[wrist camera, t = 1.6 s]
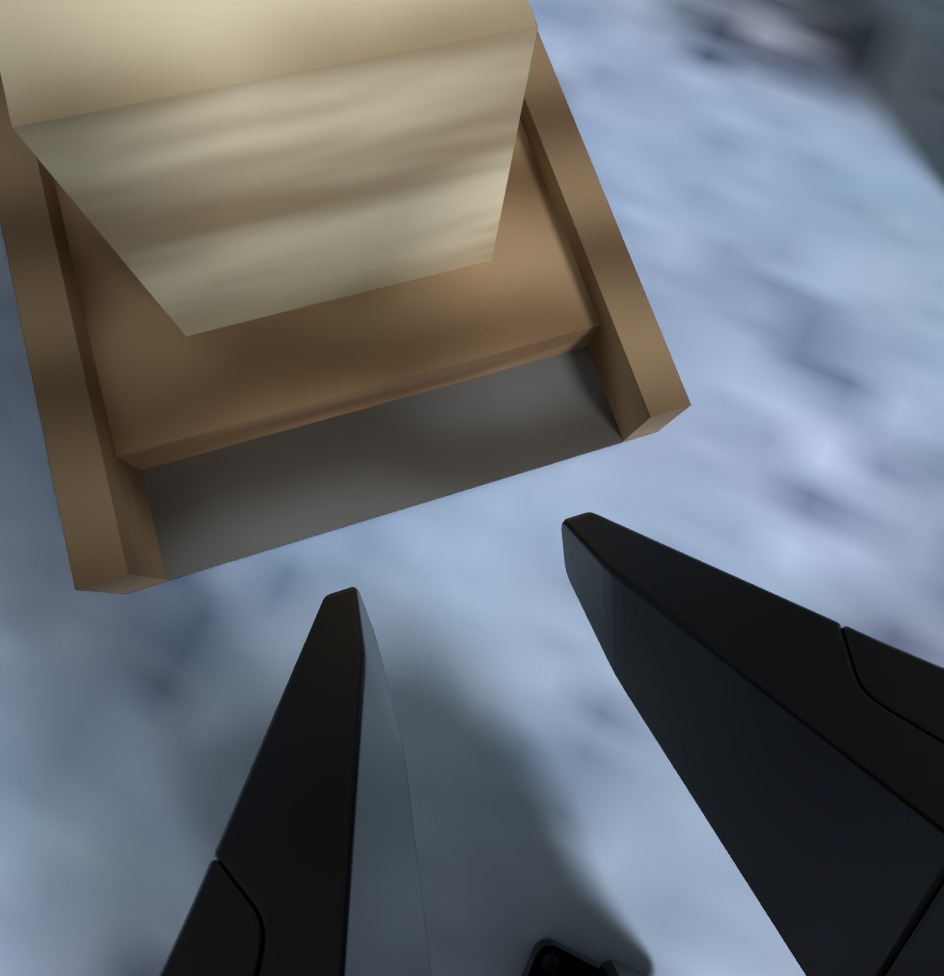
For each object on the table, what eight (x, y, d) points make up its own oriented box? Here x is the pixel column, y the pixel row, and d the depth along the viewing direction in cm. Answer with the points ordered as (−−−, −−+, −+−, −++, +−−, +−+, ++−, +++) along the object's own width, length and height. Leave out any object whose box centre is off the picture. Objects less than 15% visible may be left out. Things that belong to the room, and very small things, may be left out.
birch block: (491, 260, 22) (537, 25, 13) (186, 336, 21) (12, 127, 12) (404, 19, 24) (394, -324, 15) (118, 72, 23) (-75, -276, 14)
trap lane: (657, 431, 23) (704, 394, 20) (124, 593, 21) (54, 588, 17) (386, -252, 30) (381, -382, 26) (-49, -199, 27) (-128, -337, 23)
